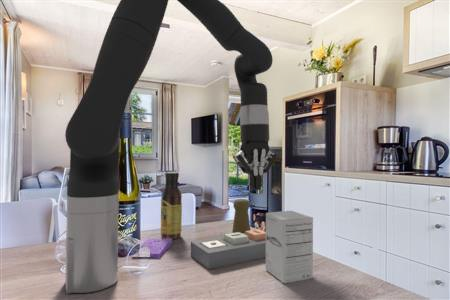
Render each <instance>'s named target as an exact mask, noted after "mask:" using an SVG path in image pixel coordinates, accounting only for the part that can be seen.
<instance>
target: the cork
mask: <svg viewBox="0 0 450 300" xmlns="http://www.w3.org/2000/svg"><path fill="white" fill-rule="evenodd" d="M250 206H251V205H250V202H249V200H248V199H245V198H238V199H235V200H234V201H233V206H232V207H233V208H234V216H233V223H232V232H231V233H236V232H240V233H242V234H243V233H245V231H250V230H251V224H250V216H249V209H250Z"/></svg>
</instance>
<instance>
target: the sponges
mask: <svg viewBox="0 0 450 300" xmlns="http://www.w3.org/2000/svg"><path fill="white" fill-rule="evenodd" d="M172 243H173V239H172V238H162V237H161V238H153V237H149V238H147V239H146V240H145V241H144V242H143V243H142V244H141V245H140V246H141V247H140V248H143V247H148V248H149V249H150V257H151V258H150V259H160V258H161V257H162V256H164V254H165V252H166V251H167V250H169V249H168V248H170V247H171V245H172ZM136 253H137V252H136ZM138 253H139V252H138Z"/></svg>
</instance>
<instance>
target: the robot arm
mask: <svg viewBox="0 0 450 300" xmlns="http://www.w3.org/2000/svg"><path fill="white" fill-rule="evenodd" d="M176 1H177V2H179V3H180V4H181V5H182V7H184V8H185V9H186V10H187V11H189V12H190V14H192V15H193V16H194V17H195V18H196V19H197V21H199V22H200V23H201V25H203V26H204V27H205V29H206V30H207V31H208V32H209V33H210V35H211V36H212V37H213V38H214V39H215V40H216V41H217V42H218V44H220V46H221V47H222V48H223V49H224V50H225V51H227V52H233V51H234V52H238V54H237V55H236V57H235V60H234V65H233V66H234V67H233V68H234V74H235V77H236V80H237V84H238V85H237V86H238V88H239V91H240V113H239V125H240V127H239V128H240V129H239V130H240V142H241V145H240V148H239V150H240V151H239V152H237V153H236V154H234V155H232V158H233V160H234V161H235V163H236V165H238V167H239V169H240V170H241V172H243V173H244V174H247V175H249V187H250V188H251V190H252V191H261V189H262V188H263V187H262V186H263V174H265V173H268V172H269V171H270V169H271V168H272V166H273V164H274V162H275V160H276V159H277V156H278V155H277V154H276V153H273V152H272V151H271V149H270V146H269V141H270V118H269V117H270V116H269V115H270V113H269V109H268V107H269V106H268V88H267V85H266V84H264V83H263V82H258V80H257V77H256V76H257V75H260V74H263V73H265V72H267V71H269V70H270V68H271V67H272V65H273V62H274V61H273V56H272V55H273V54H272V52H271V50H270V48H269V47H268V46H267V44H266V43H265V42H264V41H262V40H261V39H260V38H258V37H257V36H256V35H254V34H253V33H251V32H250V31H249V30H247V29H246V28H245V27H244V25H242V23H241V21H239V19H238V18H237V16H235V15H234V13H233V12H232V11H231V10H230V8H229V7H227V6H226V5H225V4H224V3H223V2H221V1H220V0H176ZM169 2H170V1H169V0H120V1H119V3H118V4H117V7H116V8H115V11H114V13H113V15H112V17H111V19H110V22H109V24H108V27H107V29H106V32H105V35H104V37H103V40H102V43H101V45H100V49H99V52H98V55H97V59H96V61H95V65H94V68H93V72H92V75H91V78H90V81H89V84H88V85H87V87H86V90H85V92H84V94H83V96H82V98H81V99H80V101H79V103H78V105H77V107H76V108H75V110H74V112H73V113H72V116H71V117H70V120H69V121H68V122H67V125H66V128H65V135H64V137H65V142H66V144H67V147H68V148H69V150H70V151H69V152H70V153H69V155H70V156H69V158H70V159H69V171H68V172H69V173H68V179H67V181H66V182H67V183H66V232H65V233H66V234H65V276H64V277H65V282H64V283H65V294H72V293H74V294H75V293H76V294H77V293H78V294H84V293H86V294H87V293H92V292H93V293H94V292H99V291H101V290H105V289H107V288H109V287H111V286H113V285H114V284H116V282H117V281H118V276H119V275H118V273H119V266H118V265H119V262H118V261H119V260H118V259H119V191H120V190H119V185H120V168H119V167H120V131H121V127H122V122H123V118H124V114H125V112H126V111H125V110H126V107H127V104H128V101H129V98H130V97H131V94H132V92H133V90H134V88H135V86H136V85H137V83H138V82H139V80H140V78H141V76H142V74H143V73H144V71H145V69H146V67H147V65H148V62H149V60H150V57H151V56H152V53H153V50H154V49H155V45H156V42H157V39H158V35H159V33H160V29H161V28H162V23H163V20H164V17H165V14H166V11H167V8H168V3H169Z"/></svg>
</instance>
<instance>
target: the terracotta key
mask: <svg viewBox="0 0 450 300" xmlns="http://www.w3.org/2000/svg"><path fill="white" fill-rule="evenodd" d="M245 235H247V236H248V239H250V240H253V241H259V240H265V239H266V230H262V229H259V228H258V229H250V231H245Z"/></svg>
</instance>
